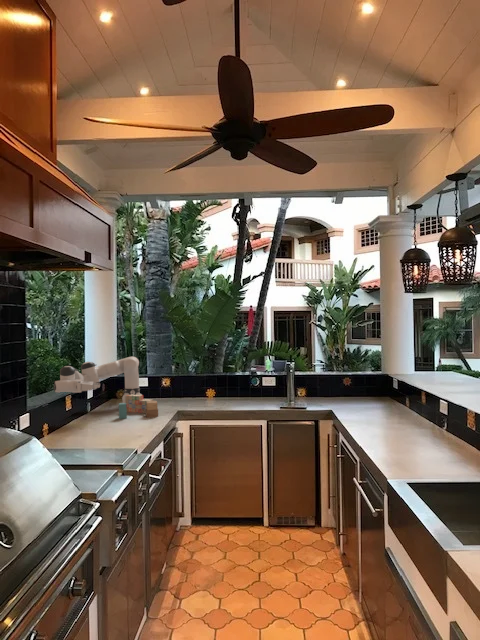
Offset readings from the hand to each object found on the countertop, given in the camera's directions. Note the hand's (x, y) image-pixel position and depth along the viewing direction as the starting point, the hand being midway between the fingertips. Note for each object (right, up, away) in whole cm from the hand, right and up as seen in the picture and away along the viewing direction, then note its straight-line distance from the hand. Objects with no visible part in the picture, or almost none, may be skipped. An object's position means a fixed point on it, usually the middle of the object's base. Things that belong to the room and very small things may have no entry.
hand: (100, 385), depth 333 cm
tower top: (+34, -18, +9) cm, 40 cm away
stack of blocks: (+22, -23, +26) cm, 41 cm away
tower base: (+34, -23, +9) cm, 42 cm away
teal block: (+15, -23, +3) cm, 28 cm away
